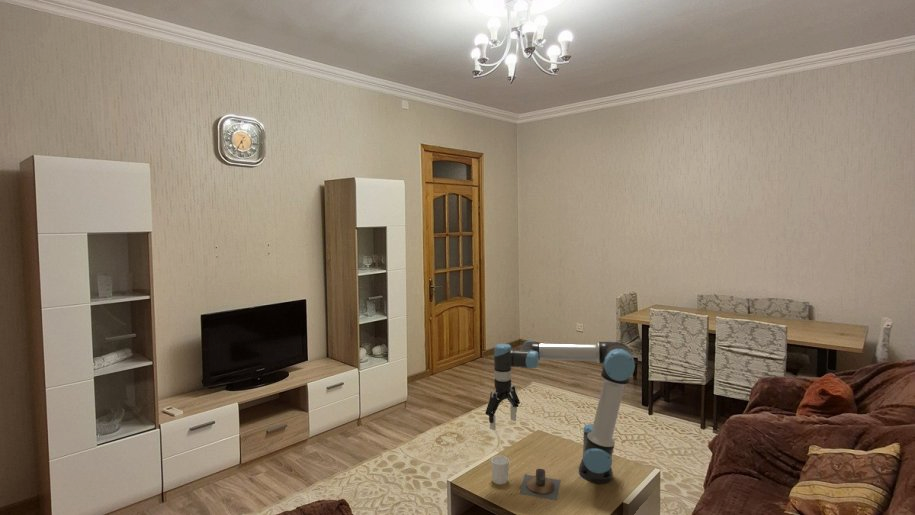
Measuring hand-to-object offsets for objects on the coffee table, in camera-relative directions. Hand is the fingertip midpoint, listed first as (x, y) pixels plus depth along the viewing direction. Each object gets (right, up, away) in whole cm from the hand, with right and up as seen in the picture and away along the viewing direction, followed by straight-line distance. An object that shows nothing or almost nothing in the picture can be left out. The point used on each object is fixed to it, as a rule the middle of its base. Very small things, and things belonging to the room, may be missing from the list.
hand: (503, 424), depth 221 cm
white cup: (-1, -25, -1) cm, 25 cm away
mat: (+16, -26, -6) cm, 31 cm away
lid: (+16, -25, -6) cm, 30 cm away
